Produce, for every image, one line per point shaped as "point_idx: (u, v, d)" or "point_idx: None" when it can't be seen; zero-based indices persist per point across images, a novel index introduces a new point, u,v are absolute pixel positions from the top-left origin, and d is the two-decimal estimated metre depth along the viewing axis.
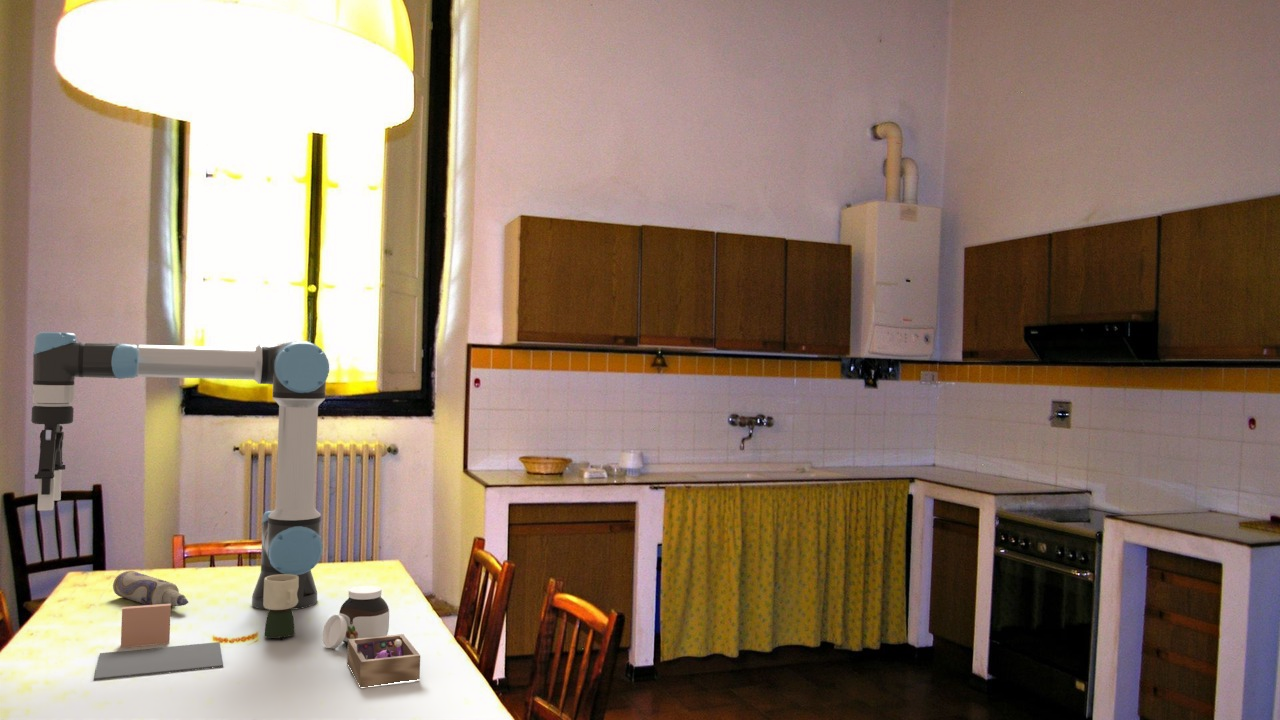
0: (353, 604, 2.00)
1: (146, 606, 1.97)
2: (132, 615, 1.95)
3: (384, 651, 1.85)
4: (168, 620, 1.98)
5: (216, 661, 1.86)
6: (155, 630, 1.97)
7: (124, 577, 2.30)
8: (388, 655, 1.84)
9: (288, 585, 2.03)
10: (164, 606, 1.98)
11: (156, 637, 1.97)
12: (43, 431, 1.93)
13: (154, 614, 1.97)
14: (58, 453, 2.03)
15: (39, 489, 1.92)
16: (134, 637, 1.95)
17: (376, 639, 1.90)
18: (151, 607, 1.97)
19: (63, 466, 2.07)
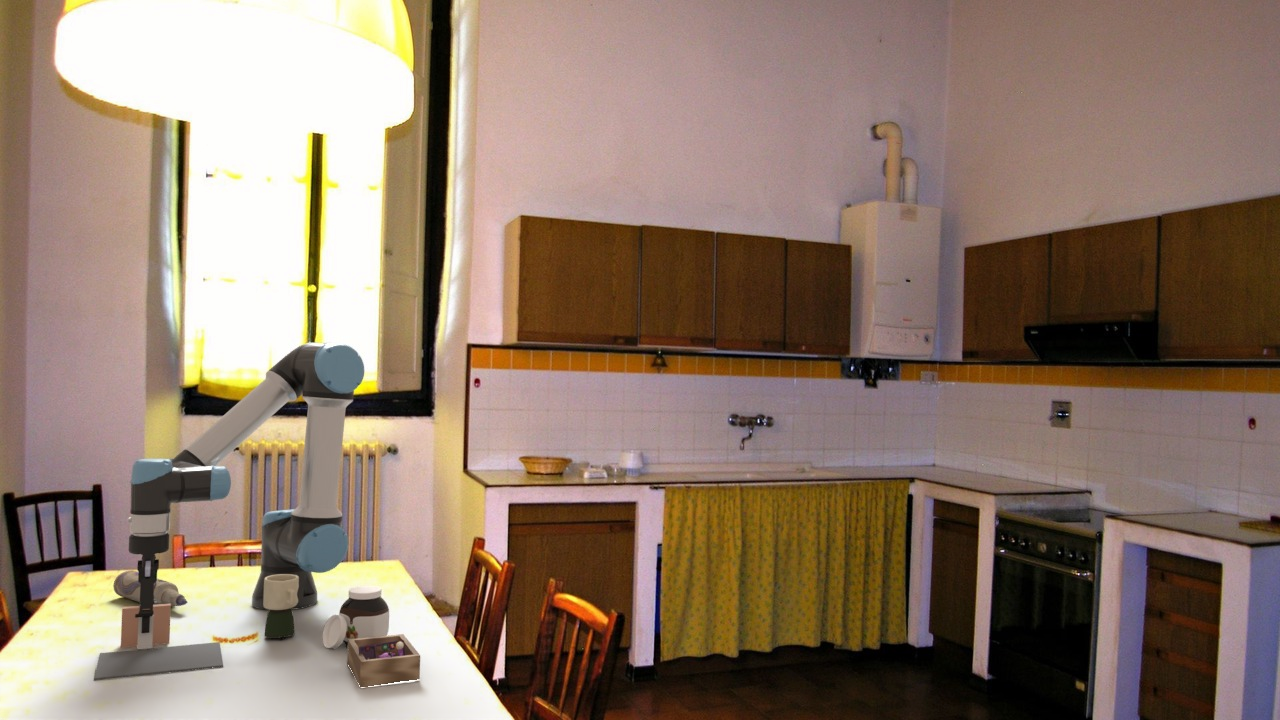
0: (353, 604, 2.00)
1: None
2: (132, 615, 1.95)
3: (386, 654, 1.83)
4: (168, 620, 1.98)
5: (216, 661, 1.86)
6: (155, 630, 1.97)
7: (125, 577, 2.30)
8: None
9: (288, 585, 2.03)
10: (164, 606, 1.98)
11: (156, 637, 1.97)
12: (142, 568, 1.90)
13: (154, 614, 1.97)
14: None
15: (139, 627, 1.92)
16: (134, 637, 1.95)
17: (376, 639, 1.90)
18: None
19: (155, 601, 2.02)
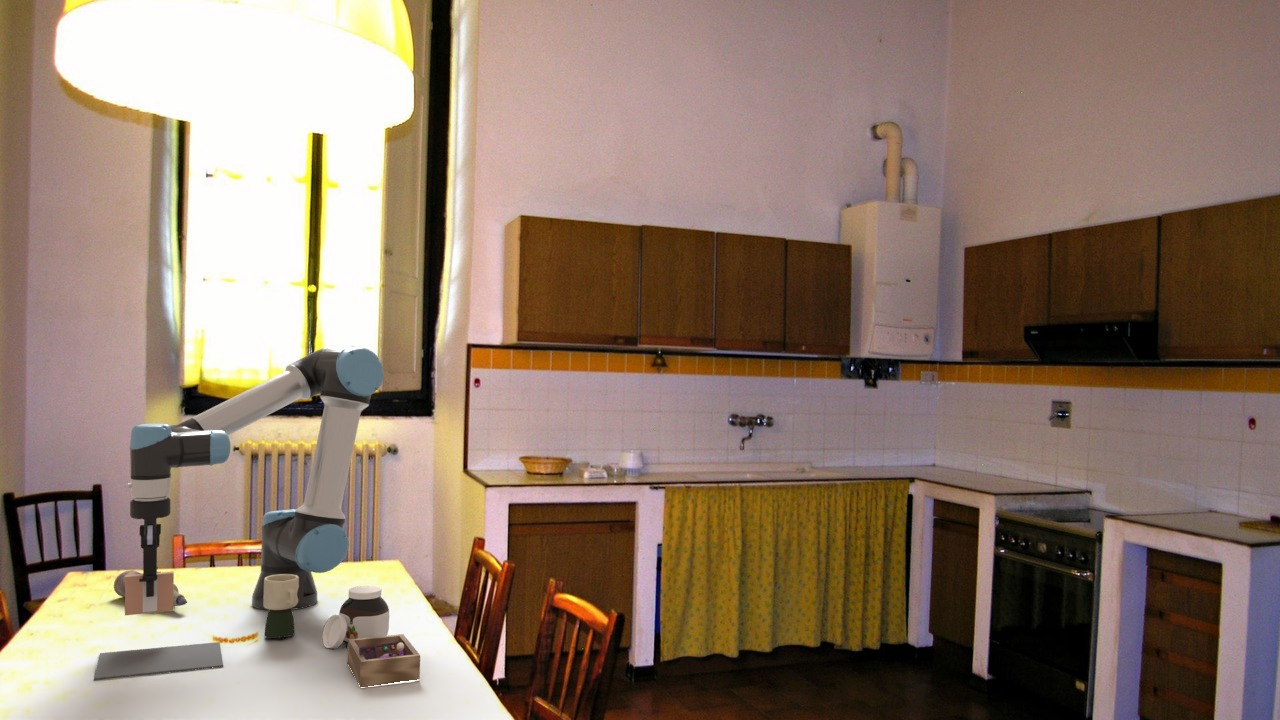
0: (353, 604, 2.00)
1: None
2: (135, 583, 1.96)
3: (386, 655, 1.83)
4: (171, 588, 1.99)
5: (216, 661, 1.86)
6: (159, 598, 1.98)
7: None
8: None
9: (288, 585, 2.03)
10: (167, 574, 1.98)
11: (160, 605, 1.98)
12: (144, 538, 1.91)
13: (157, 582, 1.97)
14: None
15: (143, 591, 1.96)
16: (138, 605, 1.96)
17: (376, 639, 1.90)
18: None
19: None
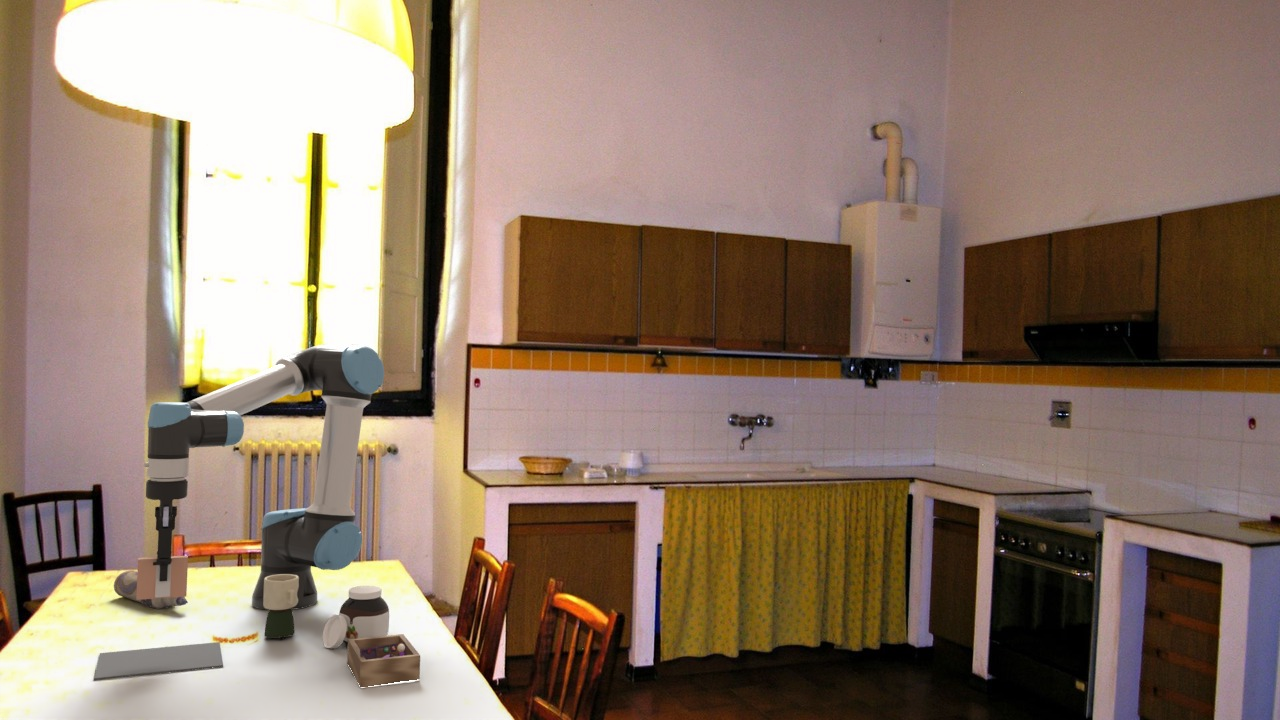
0: (353, 604, 2.00)
1: None
2: (148, 566, 1.88)
3: (387, 656, 1.82)
4: (185, 572, 1.91)
5: (216, 661, 1.86)
6: (172, 582, 1.90)
7: (125, 577, 2.30)
8: None
9: (288, 585, 2.03)
10: (181, 558, 1.91)
11: (173, 590, 1.90)
12: (160, 519, 1.84)
13: (171, 566, 1.90)
14: None
15: (157, 575, 1.88)
16: (150, 589, 1.89)
17: (376, 639, 1.90)
18: None
19: None
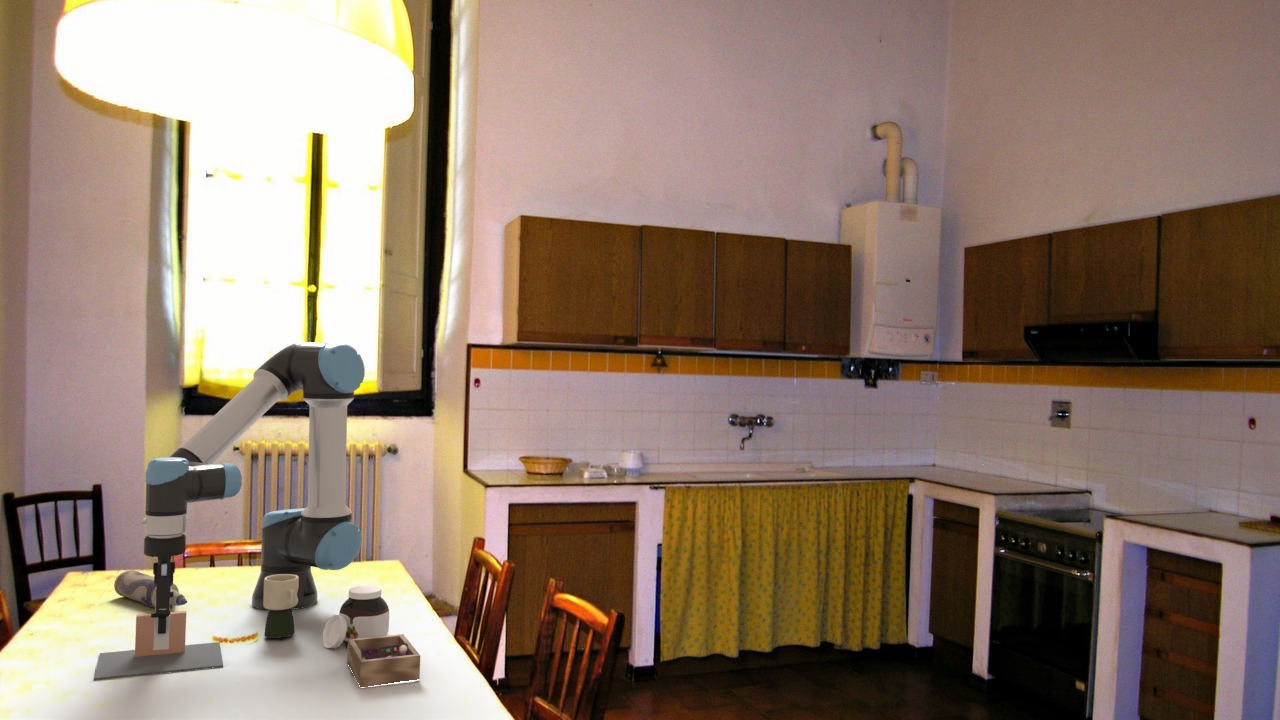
0: (353, 604, 2.00)
1: None
2: (147, 623, 1.88)
3: None
4: (183, 628, 1.91)
5: (216, 661, 1.86)
6: (170, 638, 1.90)
7: (125, 576, 2.31)
8: None
9: (288, 585, 2.03)
10: (179, 613, 1.91)
11: (171, 646, 1.90)
12: (159, 566, 1.84)
13: None
14: None
15: (155, 628, 1.83)
16: (148, 646, 1.89)
17: (376, 639, 1.90)
18: None
19: (171, 593, 1.98)
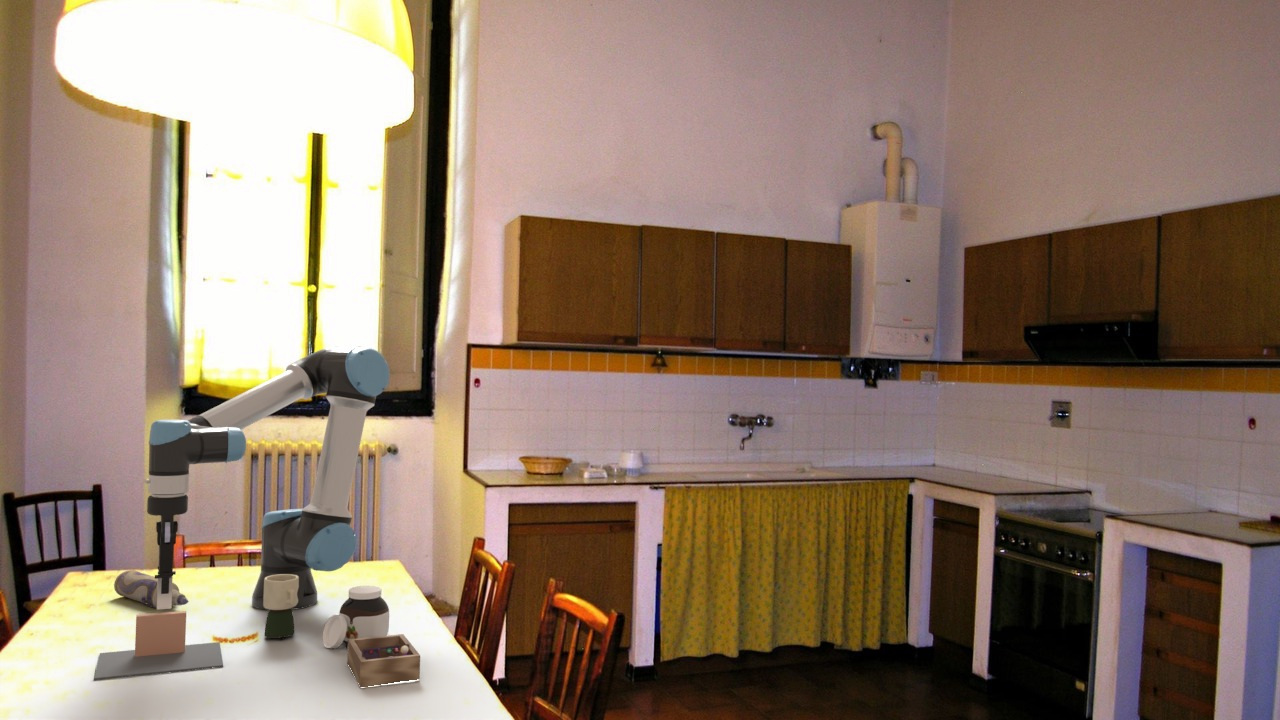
0: (353, 604, 2.00)
1: (161, 614, 1.90)
2: (147, 623, 1.88)
3: None
4: (183, 628, 1.91)
5: (216, 661, 1.86)
6: (170, 638, 1.90)
7: (125, 576, 2.31)
8: None
9: (288, 585, 2.03)
10: (179, 613, 1.91)
11: (171, 646, 1.90)
12: (162, 536, 1.89)
13: (169, 622, 1.90)
14: None
15: (158, 588, 1.94)
16: (148, 646, 1.89)
17: (376, 639, 1.90)
18: (166, 615, 1.90)
19: (173, 571, 1.97)
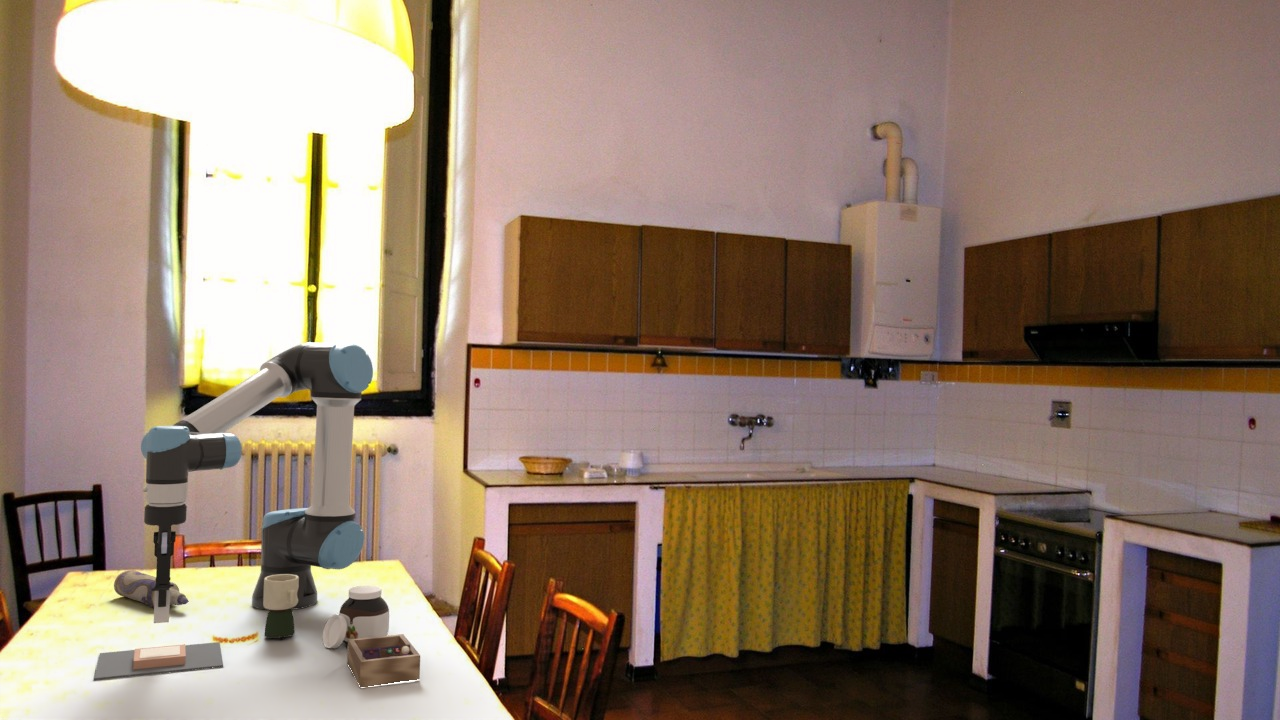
0: (353, 604, 2.00)
1: (159, 663, 1.82)
2: None
3: None
4: None
5: (216, 661, 1.86)
6: None
7: (125, 576, 2.31)
8: None
9: (288, 585, 2.03)
10: (178, 664, 1.84)
11: None
12: (159, 547, 1.82)
13: None
14: None
15: (155, 601, 1.87)
16: None
17: (376, 639, 1.90)
18: None
19: (171, 583, 1.90)
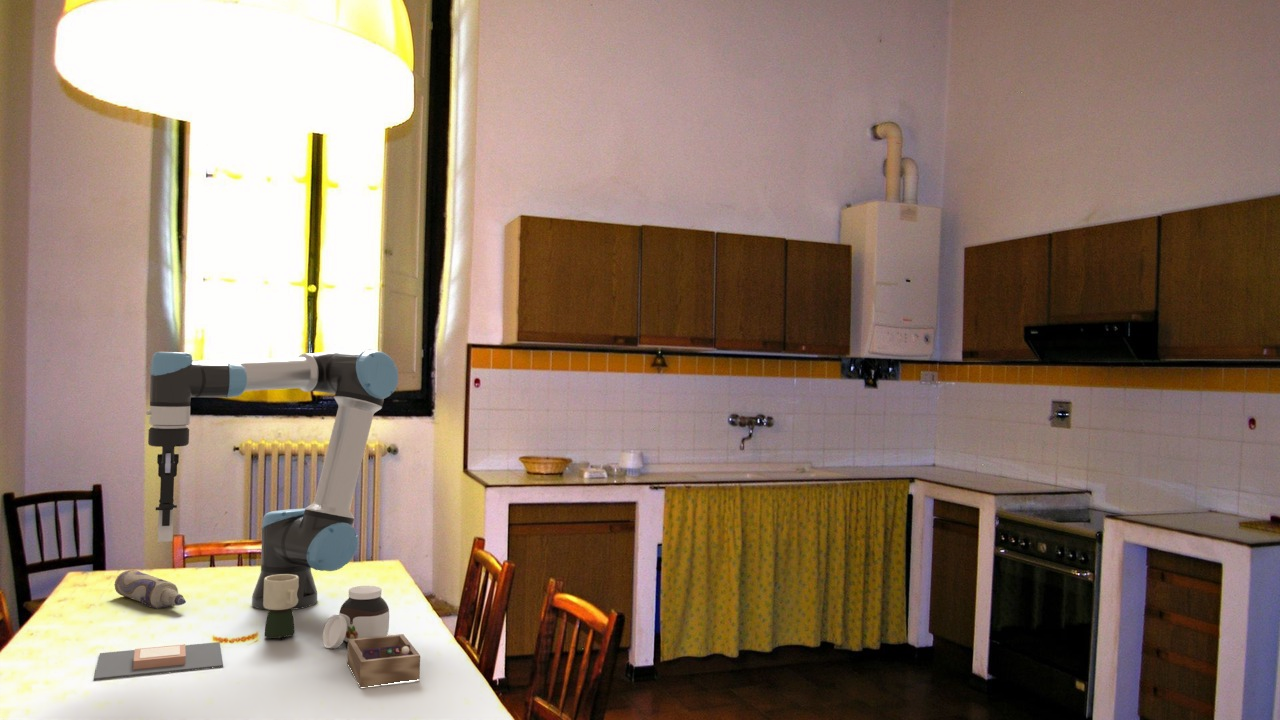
0: (353, 604, 2.00)
1: (159, 663, 1.82)
2: None
3: None
4: None
5: (216, 661, 1.86)
6: None
7: (125, 576, 2.31)
8: None
9: (288, 585, 2.03)
10: (178, 664, 1.84)
11: None
12: (162, 466, 1.88)
13: None
14: None
15: (159, 520, 1.93)
16: None
17: (376, 639, 1.90)
18: None
19: (175, 504, 1.96)
